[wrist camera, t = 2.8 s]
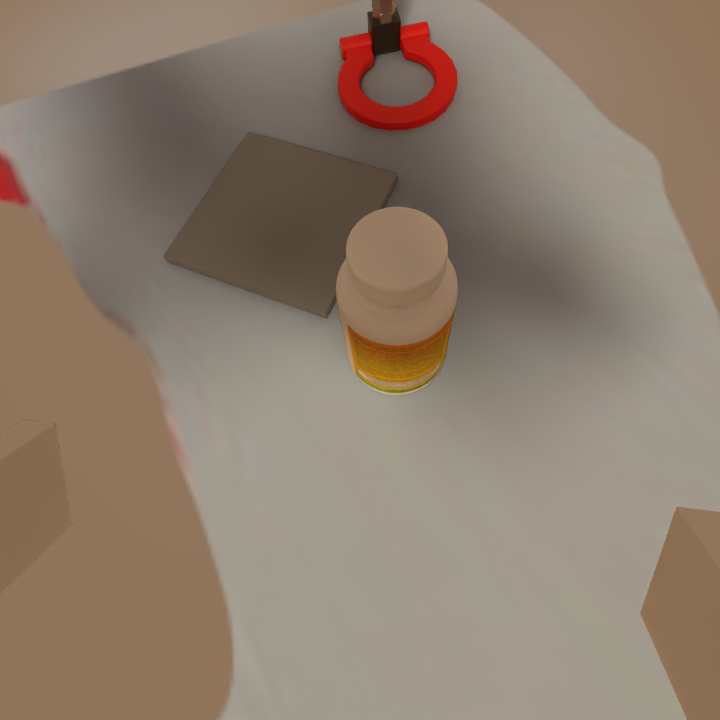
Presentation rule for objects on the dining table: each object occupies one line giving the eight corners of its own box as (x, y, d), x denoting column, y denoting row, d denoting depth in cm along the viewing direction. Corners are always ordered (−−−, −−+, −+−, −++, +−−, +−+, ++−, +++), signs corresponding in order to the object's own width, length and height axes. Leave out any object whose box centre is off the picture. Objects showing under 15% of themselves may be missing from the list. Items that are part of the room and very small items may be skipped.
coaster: (167, 261, 32) (163, 256, 32) (250, 138, 36) (248, 131, 36) (326, 318, 30) (325, 313, 29) (397, 180, 34) (397, 173, 33)
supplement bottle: (462, 373, 28) (494, 272, 19) (372, 413, 27) (361, 328, 19) (417, 296, 30) (427, 173, 21) (333, 332, 30) (307, 220, 21)
